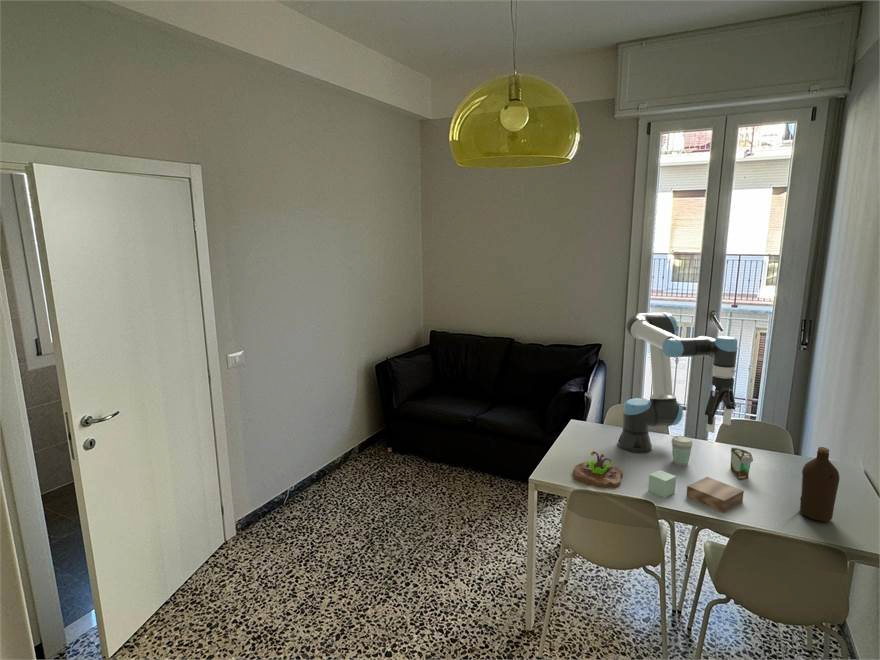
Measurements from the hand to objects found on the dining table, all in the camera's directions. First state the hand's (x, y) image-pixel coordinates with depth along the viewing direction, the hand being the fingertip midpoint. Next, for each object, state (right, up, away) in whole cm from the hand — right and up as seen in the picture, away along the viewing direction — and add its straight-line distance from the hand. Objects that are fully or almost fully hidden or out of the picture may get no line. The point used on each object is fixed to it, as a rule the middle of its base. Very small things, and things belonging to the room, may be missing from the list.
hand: (718, 428), depth 199 cm
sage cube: (-23, -25, -1) cm, 34 cm away
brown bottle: (+25, -28, -18) cm, 42 cm away
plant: (-44, -24, +13) cm, 52 cm away
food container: (+17, -23, +13) cm, 31 cm away
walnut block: (-6, -26, -7) cm, 28 cm away
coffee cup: (-4, -21, +24) cm, 32 cm away
